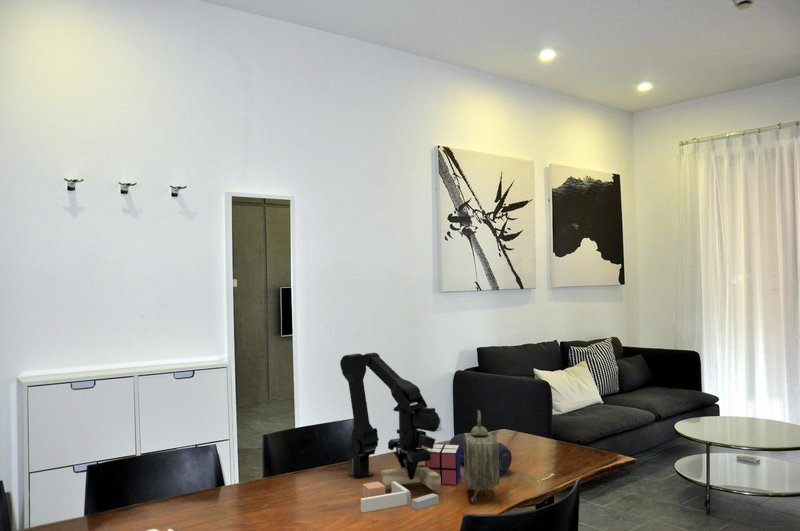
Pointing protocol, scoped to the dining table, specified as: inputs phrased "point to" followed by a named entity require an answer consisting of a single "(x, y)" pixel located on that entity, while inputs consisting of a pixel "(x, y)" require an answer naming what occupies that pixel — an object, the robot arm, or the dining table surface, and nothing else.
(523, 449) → the dining table surface
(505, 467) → the portable speaker
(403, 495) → the white l-shaped bracket
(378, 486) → the block
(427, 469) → the hook
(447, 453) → the puzzle cube
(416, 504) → the stick
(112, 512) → the dining table surface
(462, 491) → the dining table surface
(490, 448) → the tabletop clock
